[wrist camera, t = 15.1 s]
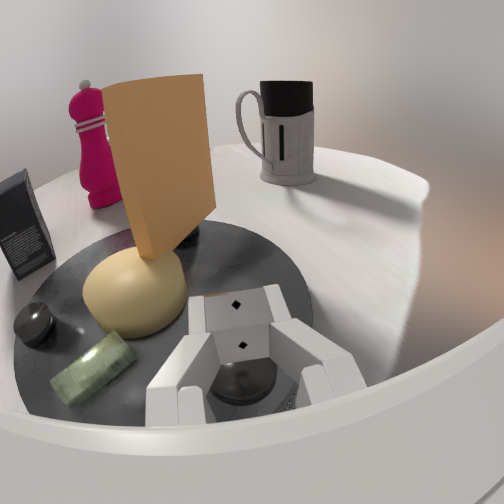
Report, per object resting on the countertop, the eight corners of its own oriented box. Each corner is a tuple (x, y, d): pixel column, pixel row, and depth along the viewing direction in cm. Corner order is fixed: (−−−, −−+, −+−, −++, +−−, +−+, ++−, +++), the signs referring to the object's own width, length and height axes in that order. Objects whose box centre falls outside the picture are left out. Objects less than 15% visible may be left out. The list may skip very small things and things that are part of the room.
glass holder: (325, 175, 42) (328, 82, 33) (267, 203, 34) (263, 80, 25) (282, 164, 47) (281, 81, 38) (221, 187, 39) (212, 84, 30)
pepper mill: (116, 207, 36) (90, 73, 24) (80, 212, 36) (52, 90, 25) (135, 188, 42) (115, 72, 30) (100, 193, 42) (79, 85, 31)
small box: (15, 249, 29) (-9, 186, 23) (49, 230, 32) (27, 166, 26) (16, 283, 23) (-21, 204, 16) (57, 258, 26) (26, 177, 20)
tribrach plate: (140, 548, 6) (99, 553, 3) (7, 323, 17) (-14, 293, 15) (360, 291, 20) (371, 249, 18) (170, 217, 32) (164, 186, 30)
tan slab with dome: (149, 354, 14) (58, 89, 6) (77, 316, 16) (2, 126, 8) (245, 225, 25) (234, 70, 17) (180, 216, 27) (160, 81, 19)
